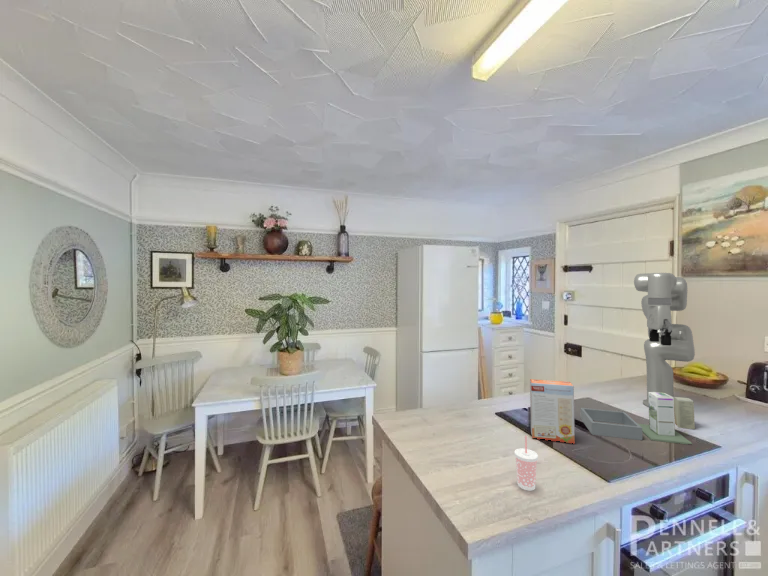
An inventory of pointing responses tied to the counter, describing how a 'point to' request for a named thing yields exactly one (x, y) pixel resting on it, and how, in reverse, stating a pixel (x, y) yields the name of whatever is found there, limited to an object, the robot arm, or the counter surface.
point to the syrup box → (661, 413)
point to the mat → (672, 439)
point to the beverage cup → (526, 467)
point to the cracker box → (552, 410)
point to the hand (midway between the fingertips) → (659, 343)
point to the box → (684, 412)
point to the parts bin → (613, 430)
